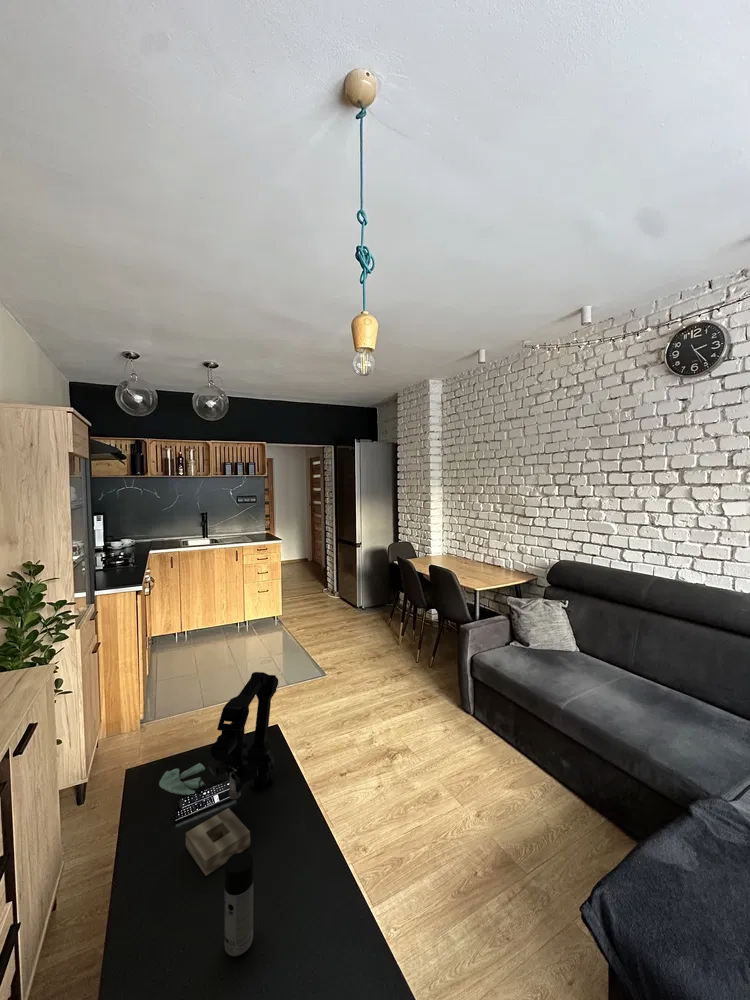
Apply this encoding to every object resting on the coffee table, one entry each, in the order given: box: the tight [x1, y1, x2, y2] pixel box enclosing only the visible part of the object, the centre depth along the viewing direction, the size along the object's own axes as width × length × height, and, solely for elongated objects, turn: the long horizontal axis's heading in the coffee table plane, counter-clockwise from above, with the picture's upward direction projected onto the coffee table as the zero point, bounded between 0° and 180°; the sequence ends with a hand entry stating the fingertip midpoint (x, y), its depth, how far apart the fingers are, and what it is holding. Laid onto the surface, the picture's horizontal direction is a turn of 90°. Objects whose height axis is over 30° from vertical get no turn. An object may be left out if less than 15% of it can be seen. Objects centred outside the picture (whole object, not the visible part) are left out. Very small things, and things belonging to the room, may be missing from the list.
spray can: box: [223, 851, 254, 958], centre depth 101 cm, size 7×7×20 cm
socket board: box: [185, 807, 251, 877], centre depth 129 cm, size 14×14×4 cm
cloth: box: [158, 762, 206, 796], centre depth 159 cm, size 20×22×2 cm
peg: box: [228, 769, 242, 800], centre depth 136 cm, size 4×4×8 cm
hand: (235, 789), depth 136 cm, fingers closed on peg, 3 cm apart
